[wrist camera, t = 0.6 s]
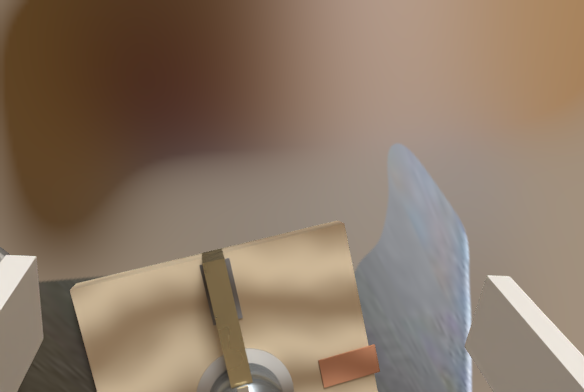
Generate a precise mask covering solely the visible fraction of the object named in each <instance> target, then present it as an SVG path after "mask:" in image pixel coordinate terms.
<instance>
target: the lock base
mask: <svg viewBox="0 0 584 392" xmlns="http://www.w3.org/2000/svg"><path fill="white" fill-rule="evenodd" d="M222 251H223V255H224V258H225V263H226V267H227V272H228V276H229V280H230V285H231V289H232V293H233V298H234V302H235V306H236V311H237V315H238V320H239V324H240V328H241V333H242V337H243V341H244V346H245V350H246V355H247V359H248V363H255V364H259V365H262V366H264V367H266V368H268V369H269V370H271V371H272V372H273V373H274V374H275V375H276V377H277V378H278V380H279V382H280V384H281V387H282V389H283V392H378V391H377V386H376V381H375V376H374V373H377V372H380V369H379V364H378V359H377V354H376V349H375V345H374V344H373V345H370V346H368V341H367V336H366V331H365V326H364V321H363V316H362V311H361V306H360V301H359V295H358V290H357V285H356V280H355V275H354V270H353V265H352V261H351V255H350V251H349V246H348V240H347V235H346V230H345V225H344V223H342V222H340V221H334V222H329V223H325V224H321V225H317V226H313V227H308V228H304V229H300V230H296V231H292V232H288V233H284V234H279V235H276V236H271V237H267V238H263V239H259V240H255V241H251V242H246V243H242V244H238V245H234V246H230V247H226V248H222ZM70 293H71V296H72V300H73V304H74V307H75V311H76V315H77V319H78V322H79V326H80V330H81V334H82V337H83V341H84V345H85V348H86V352H87V356H88V360H89V363H90V367H91V371H92V375H93V378H94V382H95V386H96V389H97V392H210V390H211V388H212V386H213V384H214V382H215V380H216V379H217V378H218V377H219V376H220V375H221V374H222V373H223V372H224V371H225V370H227V368H226V363H225V359H224V355H223V350H222V346H221V342H220V338H219V333H218V329H217V325H216V321H215V316H214V312H213V308H212V304H211V299H210V295H209V291H208V287H207V282H206V278H205V274H204V270H203V265H202V253H201V254H197V255H192V256H188V257H184V258H180V259H176V260H172V261H168V262H163V263H159V264H155V265H151V266H147V267H143V268H139V269H135V270H130V271H126V272H122V273H118V274H114V275H110V276H105V277H101V278H97V279H93V280H89V281H85V282H81V283H76V284H75V285H74V286H73V287H72V288H71V289H70Z"/></svg>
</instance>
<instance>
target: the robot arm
mask: <svg viewBox="0 0 584 392" xmlns="http://www.w3.org/2000/svg"><path fill="white" fill-rule="evenodd" d="M42 340H43V327H42V316H41V304H40V292H39V281H38V269H37V258H36V256H18V255H6V256H5V257H4V258H3V260H2V261H1V262H0V392H17V391H18V389H19V387H20V385H21V383H22V381H23V379H24V377H25V375H26V373H27V371H28V369H29V367H30V365H31V363H32V361H33V359H34V357H35V355H36V353H37V351H38V349H39V346H40V344H41V342H42ZM465 348H466V350H467V351H468V353H469V354H470V356H471V358H472V359H473V361H474V362H475V364H476V365H477V367H478V369H479V370H480V372H481V373H482V375H483V376H484V378H485V380H486V381H487V383H488V384H489V386H490V387H491V389H492V391H493V392H584V356H583V355H582V354H581V353H580V352H579V351H578V350H577V349H576V348H575V346H574V345H573V344H572V343H571V342H570V341H569V340H568V339H567V338H566V337H565V336H564V335H563V334H562V332H561V331H560V330H559V329H558V328H557V327H556V326H555V325H554V324H553V323H552V322H551V321H550V319H549V318H548V317H547V316H546V315H545V314H544V313H543V312H542V311H541V310H540V309H539V308H538V306H537V305H535V303H534V302H533V301H532V300H531V299H530V298H529V297H528V296H527V295H526V294H525V293H524V291H523V290H522V289H521V288H520V287H519V286H518V285H517V284H516V283H515V282H514V281H513V280H512V278H511V277H509V276H490V275H487V276H486V280H485V283H484V286H483V289H482V293H481V296H480V299H479V302H478V305H477V308H476V312H475V315H474V318H473V321H472V324H471V328H470V331H469V334H468V337H467V340H466V344H465Z"/></svg>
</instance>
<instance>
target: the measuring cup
mask: <svg viewBox="0 0 584 392" xmlns="http://www.w3.org/2000/svg"><path fill="white" fill-rule="evenodd" d="M202 265H203V270H204V274H205V278H206V282H207V287H208V291H209V295H210V299H211V304H212V308H213V312H214V316H215V321H216V325H217V329H218V333H219V338H220V342H221V346H222V350H223V355H224V359H225V363H226V368H227V370H225V371H224V372H223V373H222V374H221V375H220V376H219V377H218V378H217V379H216V380H215V382H214V384H213V386H212V388H211V390H210V392H283V389H282V387H281V384H280V382H279V380H278V378H277V377H276V375H275V374H274V373H273V372H272V371H271V370H269V369H268V368H266V367H264V366H262V365H259V364H255V363H248V359H247V355H246V350H245V346H244V341H243V337H242V333H241V328H240V324H239V320H238V315H237V311H236V306H235V302H234V298H233V293H232V289H231V285H230V280H229V276H228V272H227V267H226V263H225V258H224V255H223V251H222V249H217V250H213V251H209V252H205V253H202Z"/></svg>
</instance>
